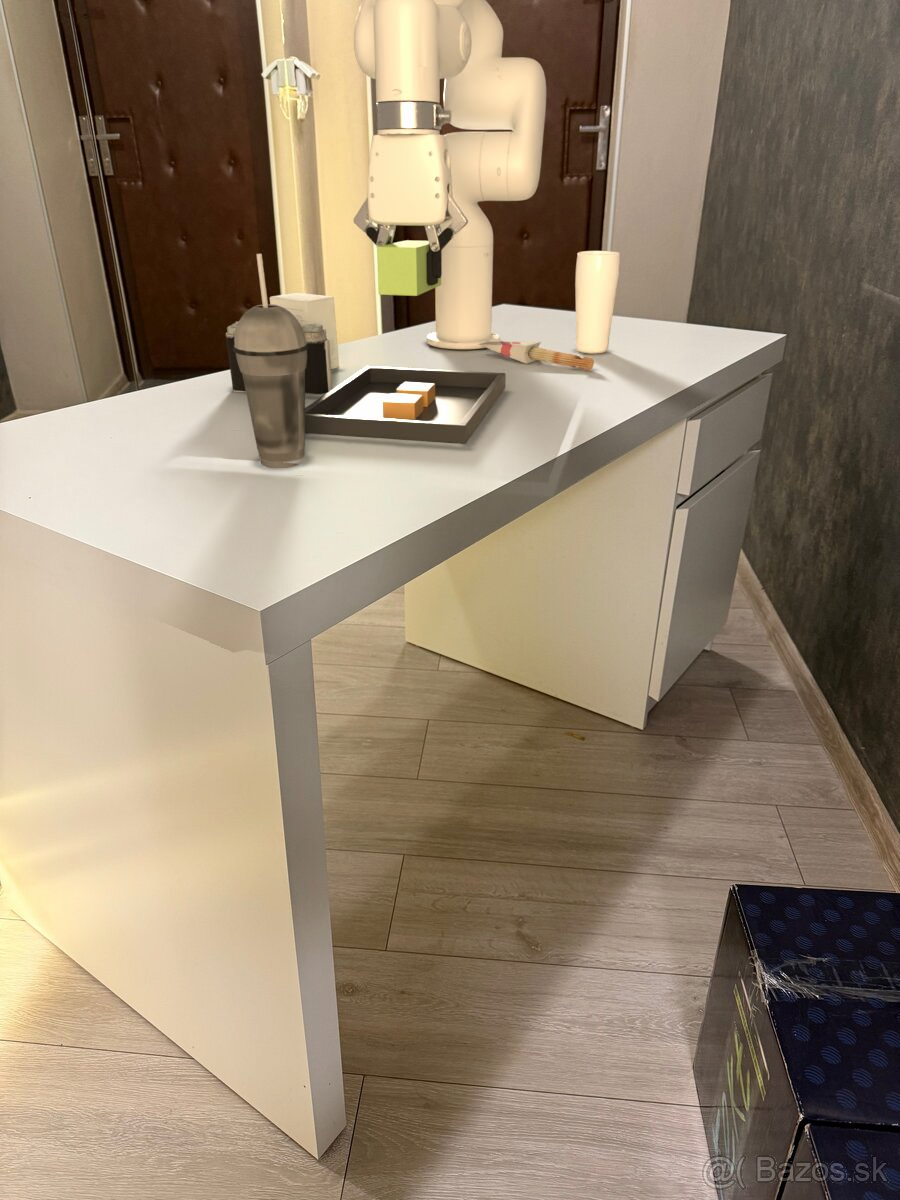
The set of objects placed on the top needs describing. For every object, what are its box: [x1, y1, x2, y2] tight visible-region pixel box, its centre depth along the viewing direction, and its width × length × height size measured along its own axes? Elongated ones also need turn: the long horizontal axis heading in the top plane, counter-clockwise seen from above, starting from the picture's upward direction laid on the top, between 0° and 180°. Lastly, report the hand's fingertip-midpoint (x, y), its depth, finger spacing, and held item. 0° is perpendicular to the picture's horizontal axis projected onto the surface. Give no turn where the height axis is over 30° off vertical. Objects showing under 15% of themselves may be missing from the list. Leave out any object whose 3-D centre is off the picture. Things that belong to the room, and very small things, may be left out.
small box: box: [269, 292, 340, 370], centre depth 122 cm, size 8×6×10 cm
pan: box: [305, 365, 507, 445], centre depth 102 cm, size 26×20×3 cm
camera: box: [225, 320, 333, 395], centre depth 109 cm, size 15×7×10 cm, turn 72°
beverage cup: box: [233, 253, 308, 469], centre depth 82 cm, size 7×7×20 cm
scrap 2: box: [396, 382, 435, 407], centre depth 105 cm, size 4×4×2 cm
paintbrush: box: [478, 341, 595, 371], centre depth 128 cm, size 4×3×20 cm
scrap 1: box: [382, 393, 423, 420], centre depth 100 cm, size 4×4×2 cm
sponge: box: [376, 239, 441, 297], centre depth 106 cm, size 12×5×6 cm, turn 166°
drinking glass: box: [574, 250, 621, 355], centre depth 133 cm, size 7×7×15 cm
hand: (411, 282), depth 107 cm, fingers closed on sponge, 5 cm apart
